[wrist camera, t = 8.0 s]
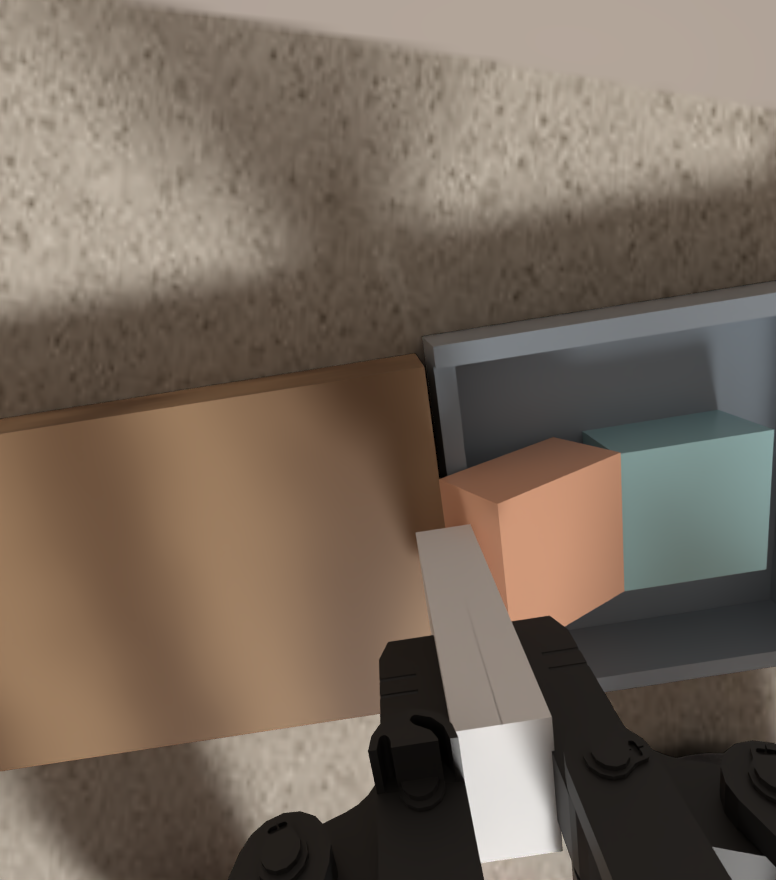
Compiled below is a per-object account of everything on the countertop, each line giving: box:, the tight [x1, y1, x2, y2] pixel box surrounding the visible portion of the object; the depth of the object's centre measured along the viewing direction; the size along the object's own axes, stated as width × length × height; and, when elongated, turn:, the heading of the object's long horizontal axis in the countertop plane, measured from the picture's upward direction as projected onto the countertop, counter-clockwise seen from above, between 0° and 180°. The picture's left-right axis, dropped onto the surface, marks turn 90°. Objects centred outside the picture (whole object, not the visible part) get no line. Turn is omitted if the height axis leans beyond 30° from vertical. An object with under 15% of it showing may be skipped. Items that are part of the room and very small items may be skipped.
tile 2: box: [439, 437, 624, 627], centre depth 16 cm, size 4×4×2 cm
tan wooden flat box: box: [0, 353, 445, 771], centre depth 17 cm, size 20×11×3 cm, turn 99°
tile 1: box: [582, 410, 774, 591], centre depth 17 cm, size 4×4×2 cm
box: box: [422, 280, 776, 692], centre depth 17 cm, size 12×12×4 cm
